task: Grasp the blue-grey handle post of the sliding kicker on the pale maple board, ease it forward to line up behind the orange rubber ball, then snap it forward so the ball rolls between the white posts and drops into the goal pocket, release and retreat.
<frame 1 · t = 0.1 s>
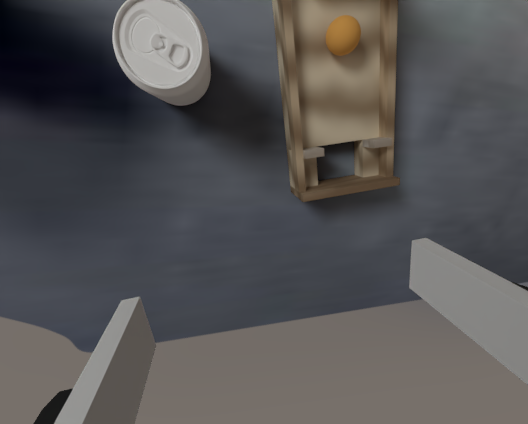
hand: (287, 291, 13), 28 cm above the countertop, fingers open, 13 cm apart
beverage can: (178, 72, 34), on the countertop
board: (328, 71, 36), on the countertop
ball: (342, 36, 31), point 4 cm above the countertop, touching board
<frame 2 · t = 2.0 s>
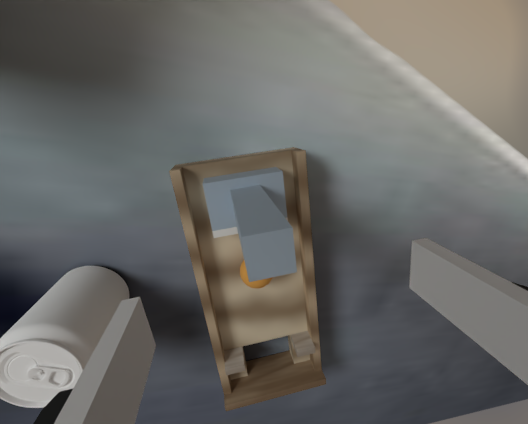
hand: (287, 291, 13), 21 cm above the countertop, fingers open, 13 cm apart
kicker: (253, 219, 23), point 10 cm above the countertop, slide at 0.0 cm
beverage can: (97, 290, 33), on the countertop
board: (254, 273, 36), on the countertop
ball: (256, 270, 31), point 4 cm above the countertop, touching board
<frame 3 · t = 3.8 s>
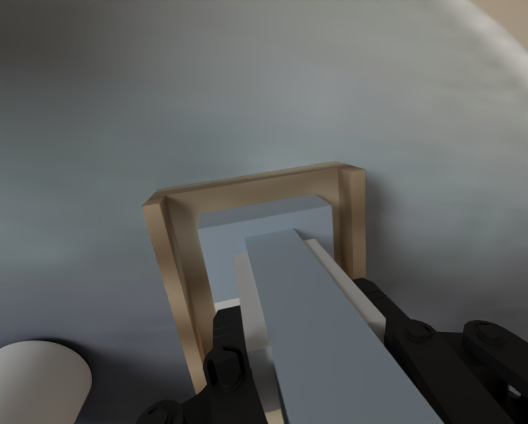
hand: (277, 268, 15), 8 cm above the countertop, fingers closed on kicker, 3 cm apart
kicker: (292, 307, 12), point 10 cm above the countertop, slide at 0.0 cm, touching gripper
beverage can: (44, 371, 23), on the countertop
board: (274, 337, 26), on the countertop
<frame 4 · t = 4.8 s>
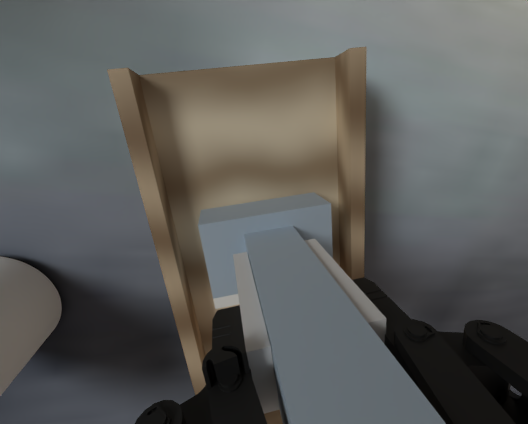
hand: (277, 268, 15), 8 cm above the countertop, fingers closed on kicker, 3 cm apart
kicker: (290, 302, 12), point 10 cm above the countertop, slide at 7.0 cm, touching gripper
beverage can: (9, 297, 21), on the countertop
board: (264, 273, 24), on the countertop
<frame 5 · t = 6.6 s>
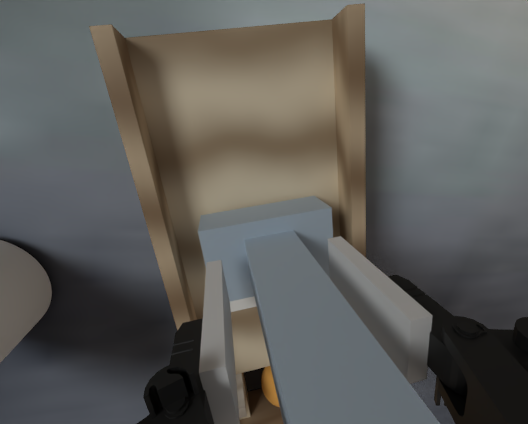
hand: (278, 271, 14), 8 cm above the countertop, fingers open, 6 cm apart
kicker: (292, 309, 12), point 10 cm above the countertop, slide at 9.1 cm
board: (262, 255, 23), on the countertop
ball: (282, 381, 25), point 2 cm above the countertop, tilted 74°
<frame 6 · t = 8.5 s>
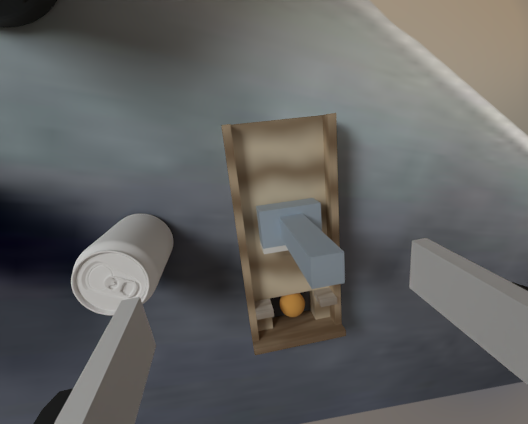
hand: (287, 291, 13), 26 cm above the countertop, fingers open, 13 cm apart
kicker: (302, 242, 30), point 10 cm above the countertop, slide at 9.1 cm
beverage can: (144, 239, 38), on the countertop
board: (283, 231, 40), on the countertop
ball: (292, 303, 42), point 2 cm above the countertop, tilted 53°
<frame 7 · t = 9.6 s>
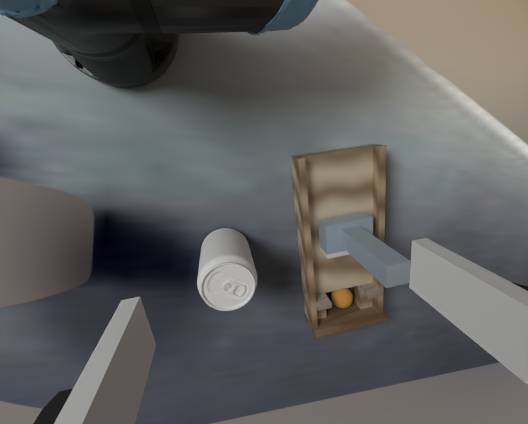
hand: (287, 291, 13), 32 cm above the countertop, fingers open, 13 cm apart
kicker: (364, 250, 38), point 10 cm above the countertop, slide at 9.1 cm
beverage can: (225, 248, 46), on the countertop
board: (335, 237, 49), on the countertop
ball: (341, 297, 51), point 2 cm above the countertop, tilted 56°
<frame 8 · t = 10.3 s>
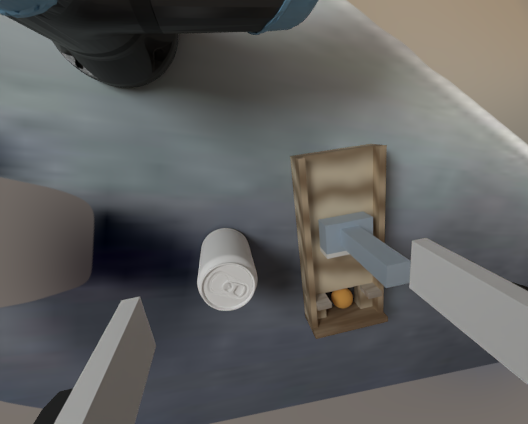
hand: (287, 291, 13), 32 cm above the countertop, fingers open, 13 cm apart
kicker: (364, 250, 38), point 10 cm above the countertop, slide at 9.1 cm
beverage can: (225, 248, 46), on the countertop
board: (335, 237, 49), on the countertop
ball: (341, 297, 51), point 2 cm above the countertop, tilted 59°
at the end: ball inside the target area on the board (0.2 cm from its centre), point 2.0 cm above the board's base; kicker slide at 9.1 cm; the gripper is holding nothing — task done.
